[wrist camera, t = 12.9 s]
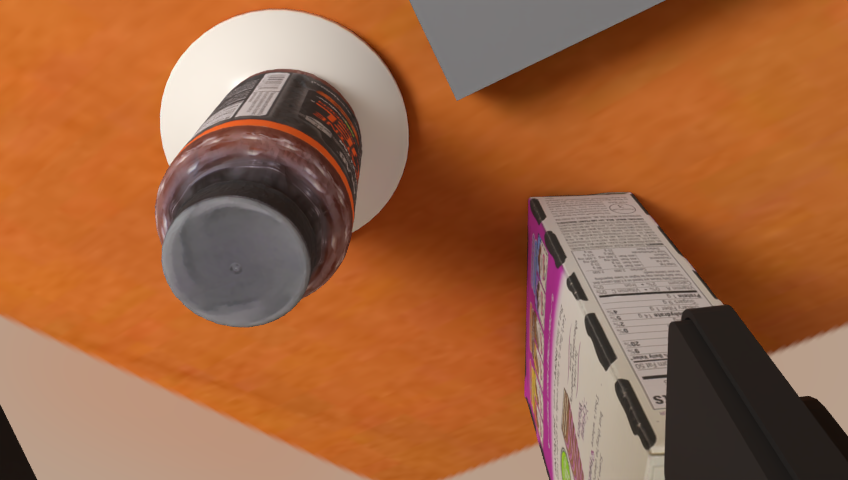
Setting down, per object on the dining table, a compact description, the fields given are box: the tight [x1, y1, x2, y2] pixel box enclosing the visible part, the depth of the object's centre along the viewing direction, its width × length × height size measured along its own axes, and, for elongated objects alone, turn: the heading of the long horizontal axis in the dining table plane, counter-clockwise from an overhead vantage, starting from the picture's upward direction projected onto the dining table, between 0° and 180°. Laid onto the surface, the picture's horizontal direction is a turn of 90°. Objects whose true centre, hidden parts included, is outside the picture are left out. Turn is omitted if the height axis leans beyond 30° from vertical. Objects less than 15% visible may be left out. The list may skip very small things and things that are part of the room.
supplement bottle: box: [155, 69, 362, 327], centre depth 24 cm, size 6×6×11 cm
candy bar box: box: [525, 192, 724, 480], centre depth 27 cm, size 11×5×16 cm, turn 3°
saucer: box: [160, 9, 409, 232], centre depth 30 cm, size 10×10×1 cm
